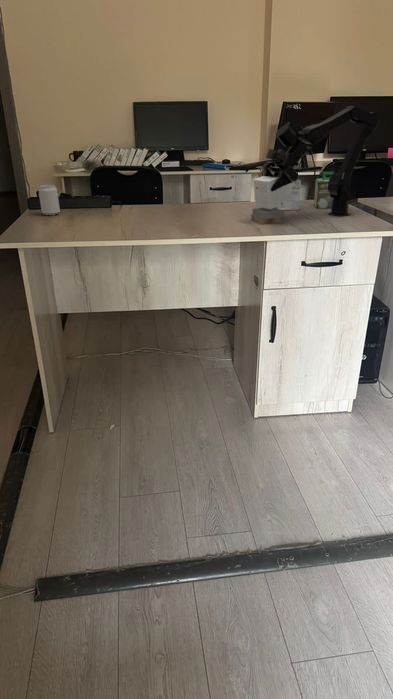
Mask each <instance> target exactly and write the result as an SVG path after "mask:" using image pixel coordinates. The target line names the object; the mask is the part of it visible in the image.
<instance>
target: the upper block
mask: <svg viewBox="0 0 393 699" xmlns="http://www.w3.org/2000/svg"><path fill="white" fill-rule="evenodd" d="M252 215H253V216H256V217H258V218H261V219H271V218H282V217H283V218H285V210H281V209H278V208H276V207H274V208H272V209H266V208H260V207H255V208H252V214H251V216H252Z"/></svg>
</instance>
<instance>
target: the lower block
mask: <svg viewBox="0 0 393 699" xmlns="http://www.w3.org/2000/svg"><path fill="white" fill-rule="evenodd" d="M250 218H251V221H252V222H255V223H257V224H259V225H271V224H281V223H283V220H284V217H282V218H271V219H261V218H258V217H256V216H253V215H252V214H251V217H250Z"/></svg>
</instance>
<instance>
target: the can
mask: <svg viewBox="0 0 393 699" xmlns="http://www.w3.org/2000/svg"><path fill="white" fill-rule="evenodd" d="M38 195H39V203H40V209H41V214H42V213H57V212H61V211H60V210H61V209H60V201H59V194H58V188H57V187H56V185H55V184H42V185H39V189H38Z"/></svg>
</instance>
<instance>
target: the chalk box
mask: <svg viewBox="0 0 393 699" xmlns="http://www.w3.org/2000/svg"><path fill="white" fill-rule="evenodd" d="M332 174H335V172H334V171H323V172H322V177H321V178H316V179H315V184H314V185H315V188H314V204H313V205H314V207H315V208H316V209H332V203H333V199H334V198H331V197H330V193H329V192H328V189H327V187H328V184H327V183H328V182H329V180H330V177H331V175H332ZM327 175H330V176H329V177H326V176H327Z"/></svg>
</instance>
